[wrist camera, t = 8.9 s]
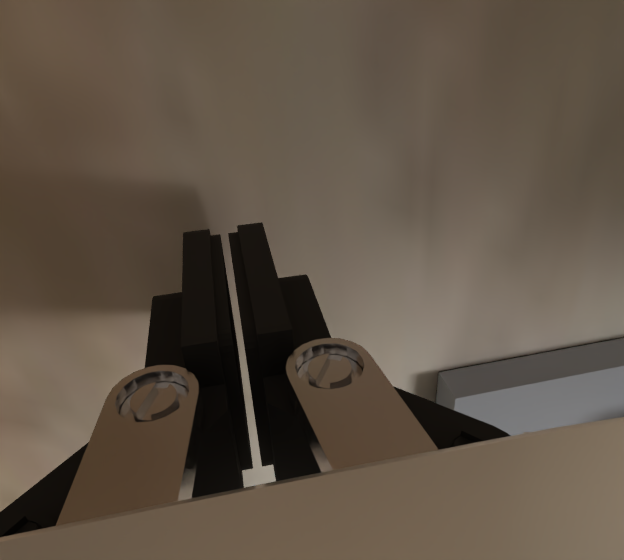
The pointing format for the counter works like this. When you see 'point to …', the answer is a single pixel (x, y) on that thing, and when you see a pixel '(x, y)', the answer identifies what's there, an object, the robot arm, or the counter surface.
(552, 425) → the carrier plate
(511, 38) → the counter surface
